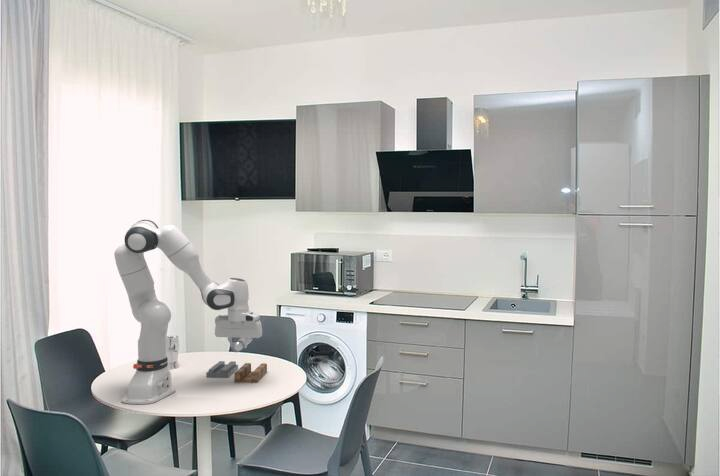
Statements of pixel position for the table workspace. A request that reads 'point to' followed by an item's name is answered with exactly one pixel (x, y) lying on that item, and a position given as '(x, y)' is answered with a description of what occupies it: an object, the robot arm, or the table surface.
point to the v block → (222, 370)
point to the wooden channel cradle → (250, 373)
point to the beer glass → (172, 351)
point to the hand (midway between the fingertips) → (238, 347)
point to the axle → (239, 344)
